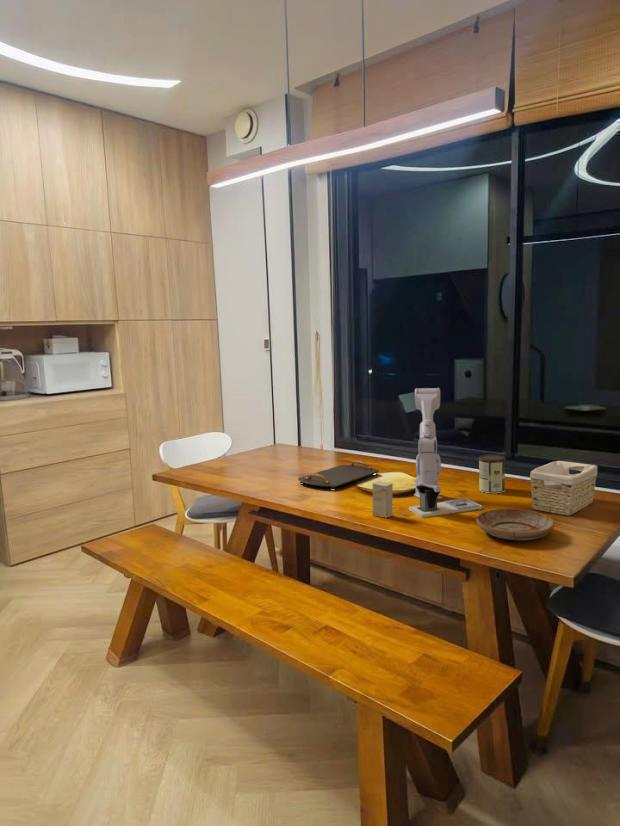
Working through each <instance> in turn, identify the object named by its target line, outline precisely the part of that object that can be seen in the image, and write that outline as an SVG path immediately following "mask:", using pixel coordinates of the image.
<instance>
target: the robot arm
mask: <svg viewBox="0 0 620 826" xmlns="http://www.w3.org/2000/svg"><path fill="white" fill-rule="evenodd" d="M414 404H415V409H416V410H419V411H420V412H421V414H422V415H421V417H422V421H421V422H420V424H419V440H417V441H418V445H417V447H418V454H417V455H416V457H415V458H416V459H415V474H416V477H415V493H414V494H413V496H415V497H416V498H418V499H420V493H423V492H425V493H426V496H427V501H428V507H429V508H434V507H435V503H436V500H437V501H438V500H442V499H443V496H440V493H441V492H442V491H441V490H442V489H441V485H439V483H438V482H439V480H438V479H439V476H441V475H442V462H441V461H442V460H441V456H440V454H439V453H437V452H438V440H437V433H436V423H435V422H434V414H435V411H436V410H438V409H440V406H441V388H440V387H437V388H436V387H434V388H433V387H432V388H429V387H427V388H426V387H424V388H423V387H421V388H417V387H416V388H415V389H414Z"/></svg>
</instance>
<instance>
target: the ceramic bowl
mask: <svg viewBox="0 0 620 826" xmlns="http://www.w3.org/2000/svg"><path fill="white" fill-rule="evenodd" d="M475 518H476V520H475V521H476V524H477V525H478V527H479V528H480V529H481V530H482V531H483V532H484V533H486V534H488V535H490V536H493V537H495V538H499V539H503V540H507V541H521V542H522V541H523V542H524V541H533V540H537V539H540V538H544V537H545V536H547V535H549V534H550V533H551V532H552V530H553V528H555V527H554V525H555V522H554V519H553V518H552V517H550V516H548V515H547V514H544V513H540V512H536V511H534V510H533V511H532V510H527V509H520V508H519V509H517V508H497V509H491V510H486V511H483V512H481V513H479V514H478V515H477V517H475Z"/></svg>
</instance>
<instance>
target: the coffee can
mask: <svg viewBox="0 0 620 826" xmlns="http://www.w3.org/2000/svg"><path fill="white" fill-rule="evenodd" d="M505 462H506V457H505V456H503V455H498V454H483V455H480V456H478V473H479V474H478V475H479V476H478V479H479V480H478V482H479V483H478V485H479V486H478V488H479V489H478V490H480V491H481V493H483V492H485V493H484V494H487V493H492V494H491V495H498V494H497V493H500V494H503V492H504V493H506V490H505V489H506V487H505V486H506V485H505V484H506V481H505V479H506V478H505V477H506V474H505V473H506V472H505V471H506V463H505ZM480 491H479V492H480Z"/></svg>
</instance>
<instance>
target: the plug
mask: <svg viewBox="0 0 620 826" xmlns="http://www.w3.org/2000/svg"><path fill="white" fill-rule="evenodd" d="M437 503H438V499H437V500H436V503H435V507H434V508H429V507H428V501H427V496H426V493H425V492H423V493H420V498H419V505H420V510H421V511H423V512H429V511H436V510H437Z"/></svg>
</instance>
